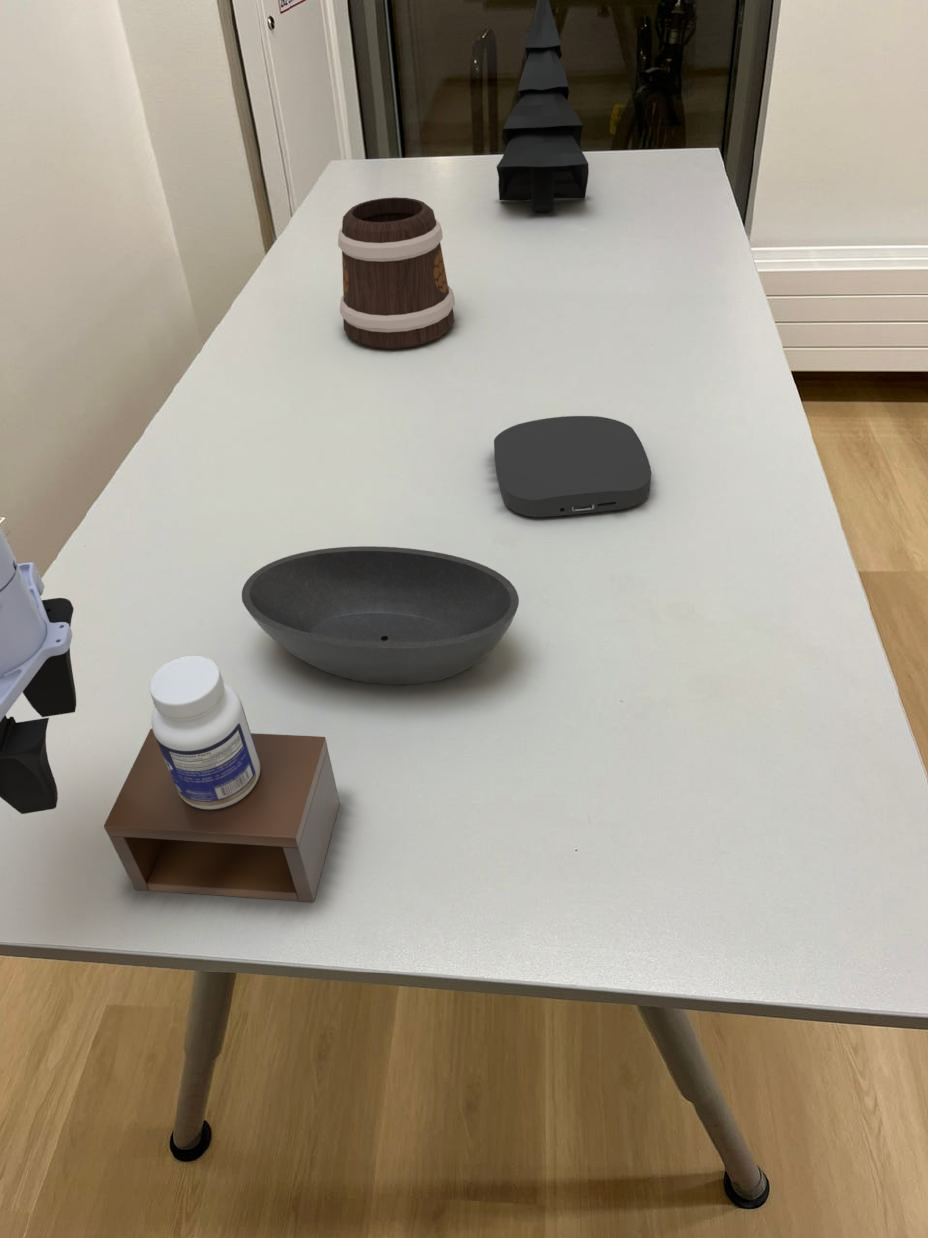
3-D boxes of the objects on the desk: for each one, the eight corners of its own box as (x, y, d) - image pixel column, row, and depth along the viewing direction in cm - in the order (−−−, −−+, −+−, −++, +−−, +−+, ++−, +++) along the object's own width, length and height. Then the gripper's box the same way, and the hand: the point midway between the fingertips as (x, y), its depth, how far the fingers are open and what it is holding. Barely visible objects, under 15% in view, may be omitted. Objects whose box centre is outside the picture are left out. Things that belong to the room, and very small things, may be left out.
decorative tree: (585, 222, 161) (587, 4, 158) (589, 191, 147) (591, -49, 143) (499, 225, 163) (499, 9, 159) (494, 195, 148) (494, -44, 145)
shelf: (134, 890, 62) (103, 826, 58) (176, 792, 68) (150, 728, 64) (314, 902, 61) (295, 837, 56) (340, 802, 67) (325, 736, 62)
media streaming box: (490, 445, 102) (488, 421, 100) (625, 432, 102) (626, 407, 100) (507, 524, 91) (506, 498, 89) (658, 509, 91) (661, 482, 89)
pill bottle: (182, 752, 62) (144, 652, 56) (263, 742, 62) (234, 641, 56) (172, 817, 58) (130, 717, 52) (258, 807, 58) (227, 706, 52)
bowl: (508, 719, 72) (505, 659, 67) (233, 691, 75) (216, 633, 71) (530, 615, 80) (529, 556, 76) (284, 595, 84) (270, 538, 80)
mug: (449, 352, 119) (440, 230, 109) (331, 352, 121) (313, 232, 111) (466, 289, 134) (460, 177, 124) (361, 290, 136) (347, 179, 126)
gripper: (12, 663, 43) (103, 843, 52) (60, 492, 54) (129, 664, 63) (-150, 688, 43) (-30, 865, 51) (-68, 509, 54) (20, 681, 62)
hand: (49, 756), depth 57 cm, fingers open, 7 cm apart
